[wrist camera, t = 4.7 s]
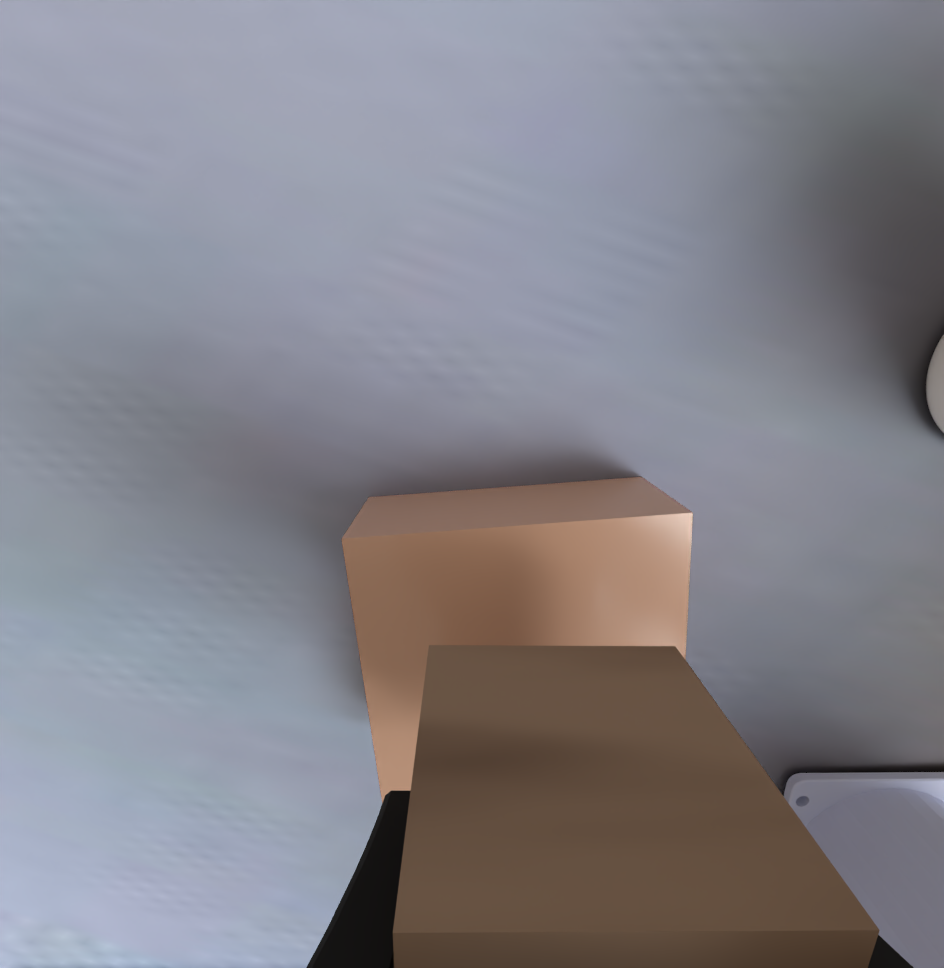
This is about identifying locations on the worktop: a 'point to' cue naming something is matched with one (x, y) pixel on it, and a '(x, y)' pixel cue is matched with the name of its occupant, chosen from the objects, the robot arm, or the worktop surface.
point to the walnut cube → (603, 825)
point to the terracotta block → (507, 584)
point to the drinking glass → (936, 385)
